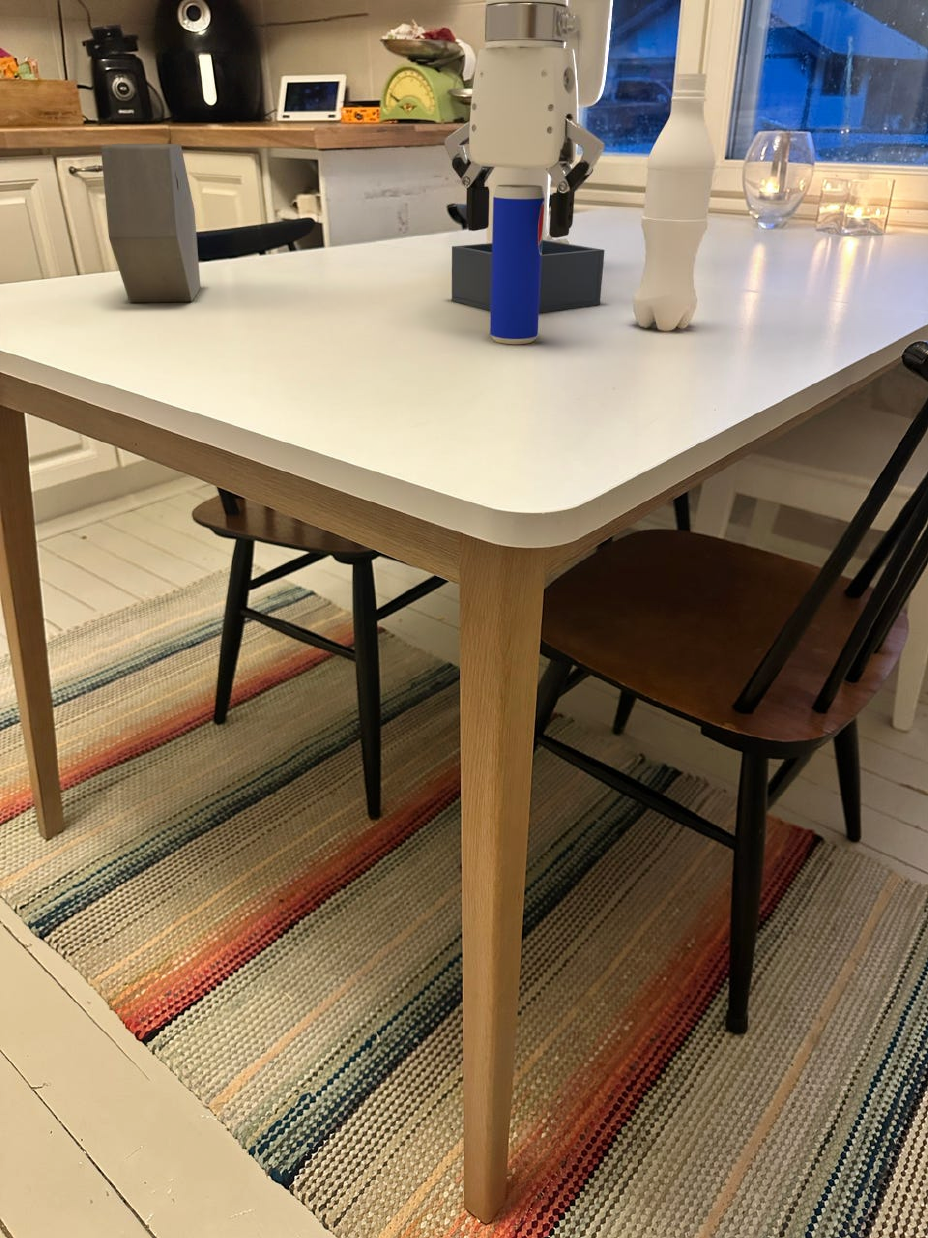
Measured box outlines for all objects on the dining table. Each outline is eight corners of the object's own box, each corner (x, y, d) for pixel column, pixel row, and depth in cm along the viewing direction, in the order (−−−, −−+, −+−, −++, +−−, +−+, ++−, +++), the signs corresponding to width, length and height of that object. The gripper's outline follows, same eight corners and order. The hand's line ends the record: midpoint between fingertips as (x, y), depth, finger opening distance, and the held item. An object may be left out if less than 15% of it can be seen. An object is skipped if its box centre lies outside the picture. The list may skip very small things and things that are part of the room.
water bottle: (687, 320, 106) (719, 75, 94) (699, 333, 100) (735, 73, 87) (626, 319, 106) (651, 74, 94) (635, 332, 100) (662, 72, 88)
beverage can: (543, 344, 94) (551, 187, 87) (496, 346, 93) (500, 187, 86) (529, 333, 99) (536, 183, 91) (484, 335, 98) (488, 184, 90)
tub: (536, 290, 123) (539, 238, 120) (600, 304, 114) (604, 249, 111) (451, 300, 115) (451, 246, 112) (512, 316, 107) (514, 258, 103)
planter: (145, 244, 124) (105, 100, 105) (201, 243, 125) (171, 101, 107) (139, 334, 116) (95, 196, 98) (199, 333, 117) (167, 196, 99)
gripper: (628, 31, 81) (610, 235, 89) (467, 36, 89) (464, 224, 97) (594, 24, 75) (579, 243, 84) (425, 30, 83) (426, 230, 92)
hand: (517, 232), depth 91 cm, fingers open, 9 cm apart
